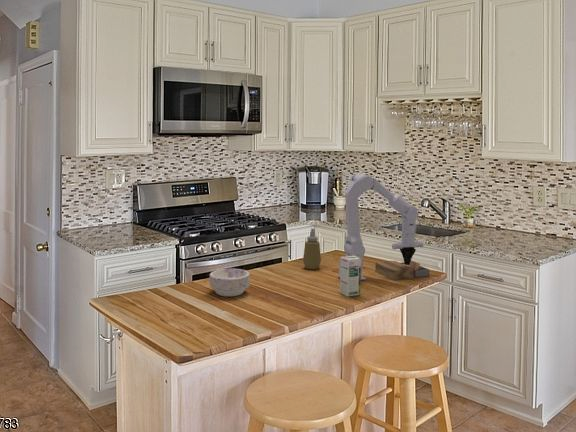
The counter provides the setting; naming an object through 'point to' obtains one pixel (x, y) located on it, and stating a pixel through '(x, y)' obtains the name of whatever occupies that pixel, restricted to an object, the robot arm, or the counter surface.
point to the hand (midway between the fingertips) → (407, 264)
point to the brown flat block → (394, 270)
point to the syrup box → (350, 276)
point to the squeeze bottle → (312, 252)
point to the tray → (420, 272)
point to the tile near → (414, 265)
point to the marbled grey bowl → (229, 281)
